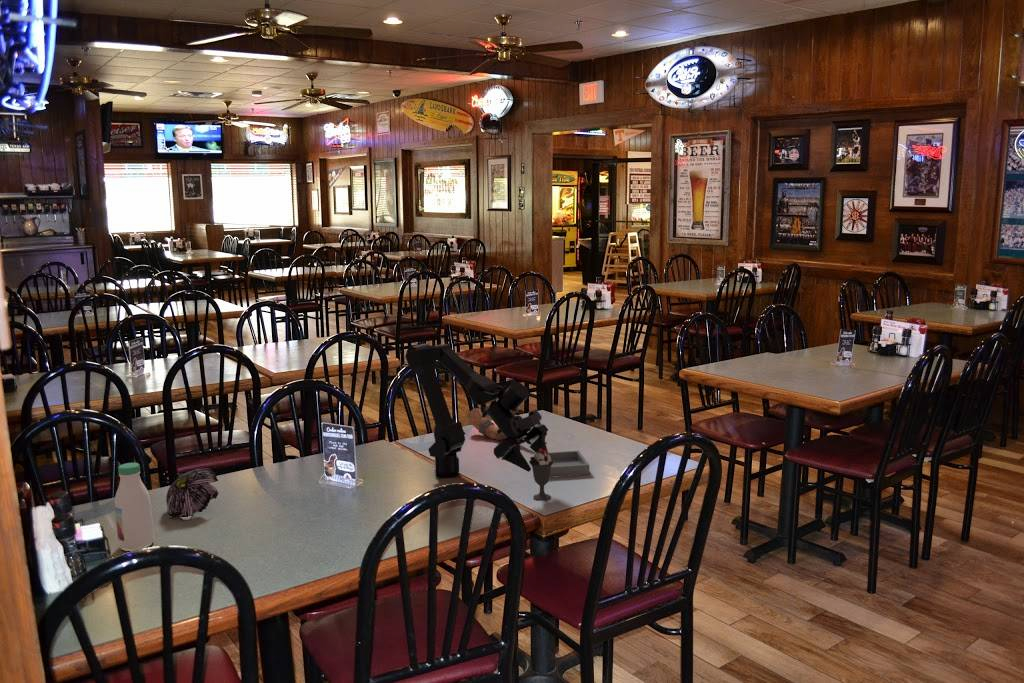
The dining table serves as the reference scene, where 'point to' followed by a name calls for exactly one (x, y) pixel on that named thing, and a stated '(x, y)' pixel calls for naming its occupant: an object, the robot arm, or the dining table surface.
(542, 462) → the sundae
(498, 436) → the drinking horn
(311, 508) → the dining table surface
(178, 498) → the decorative flower
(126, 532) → the milk bottle
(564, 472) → the tray
